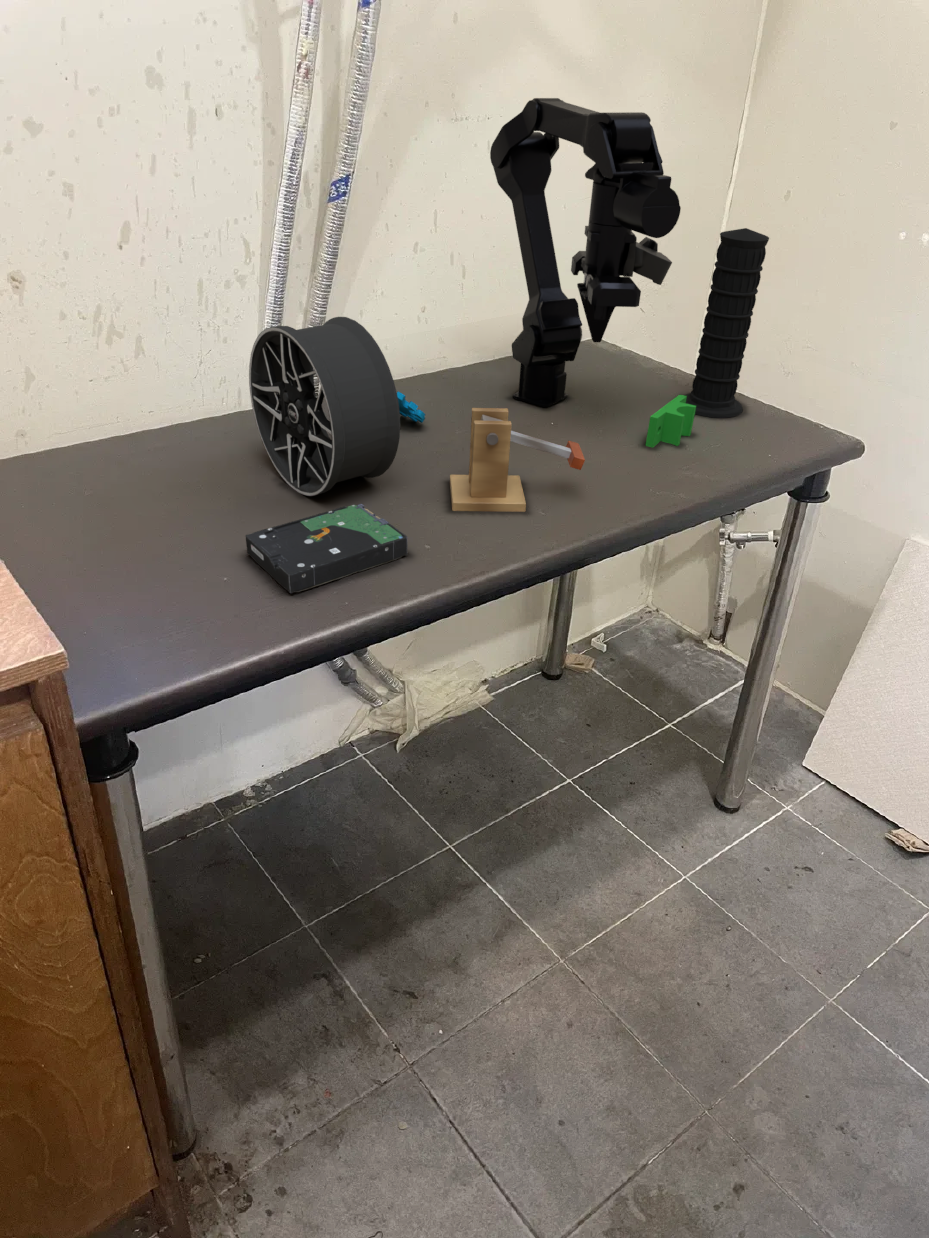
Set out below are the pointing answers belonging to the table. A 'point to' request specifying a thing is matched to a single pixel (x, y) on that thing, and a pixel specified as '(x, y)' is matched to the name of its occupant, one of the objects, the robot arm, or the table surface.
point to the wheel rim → (351, 393)
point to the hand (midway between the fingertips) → (596, 341)
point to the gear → (409, 409)
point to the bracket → (488, 468)
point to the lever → (548, 446)
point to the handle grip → (727, 323)
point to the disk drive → (325, 547)
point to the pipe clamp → (671, 422)
